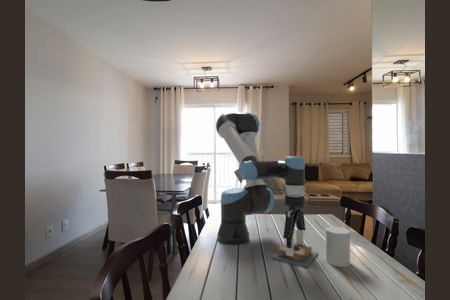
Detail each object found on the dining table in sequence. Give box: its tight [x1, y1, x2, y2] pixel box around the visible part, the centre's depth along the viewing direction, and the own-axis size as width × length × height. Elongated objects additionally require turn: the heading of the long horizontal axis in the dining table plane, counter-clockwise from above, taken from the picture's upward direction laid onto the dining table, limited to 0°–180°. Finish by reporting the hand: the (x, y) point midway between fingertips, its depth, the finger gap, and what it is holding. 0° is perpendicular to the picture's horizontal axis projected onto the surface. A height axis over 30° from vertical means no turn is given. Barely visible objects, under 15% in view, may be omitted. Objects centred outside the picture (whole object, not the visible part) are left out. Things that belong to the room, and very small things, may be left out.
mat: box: [271, 250, 319, 269], centre depth 101 cm, size 14×14×1 cm
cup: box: [325, 226, 351, 268], centre depth 96 cm, size 8×8×12 cm
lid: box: [277, 243, 313, 262], centre depth 101 cm, size 10×10×4 cm
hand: (295, 250), depth 101 cm, fingers open, 11 cm apart
